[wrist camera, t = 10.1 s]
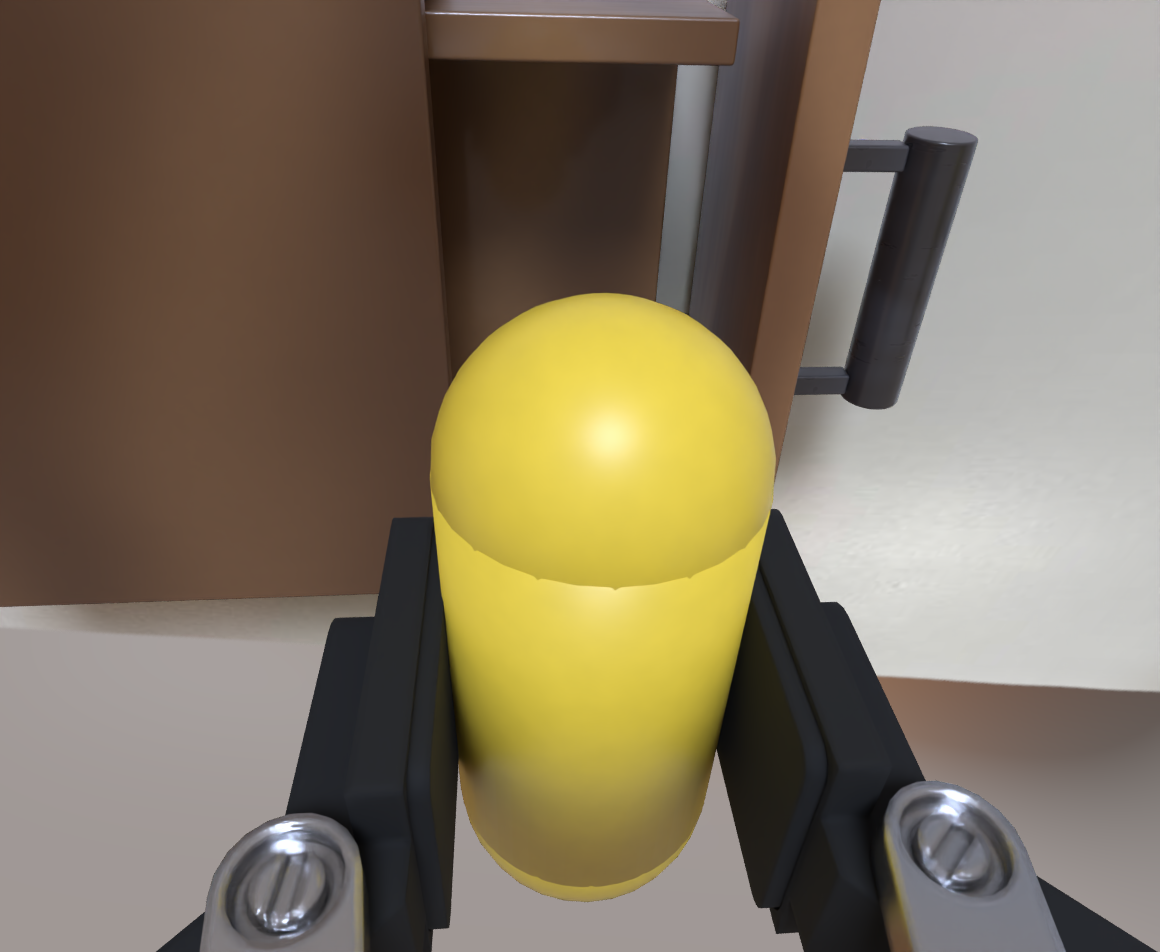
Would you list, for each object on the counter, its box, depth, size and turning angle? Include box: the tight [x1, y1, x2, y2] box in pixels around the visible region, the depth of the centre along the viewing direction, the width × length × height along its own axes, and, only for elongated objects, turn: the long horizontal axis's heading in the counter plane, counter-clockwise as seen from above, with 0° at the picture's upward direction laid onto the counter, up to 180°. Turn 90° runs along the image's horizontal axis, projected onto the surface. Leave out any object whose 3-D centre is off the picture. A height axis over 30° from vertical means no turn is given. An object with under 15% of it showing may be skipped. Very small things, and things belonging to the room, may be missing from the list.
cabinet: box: [0, 0, 452, 607], centre depth 20 cm, size 17×15×9 cm
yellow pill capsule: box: [430, 293, 776, 902], centre depth 10 cm, size 9×4×4 cm
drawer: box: [424, 0, 978, 487], centre depth 20 cm, size 20×13×7 cm
